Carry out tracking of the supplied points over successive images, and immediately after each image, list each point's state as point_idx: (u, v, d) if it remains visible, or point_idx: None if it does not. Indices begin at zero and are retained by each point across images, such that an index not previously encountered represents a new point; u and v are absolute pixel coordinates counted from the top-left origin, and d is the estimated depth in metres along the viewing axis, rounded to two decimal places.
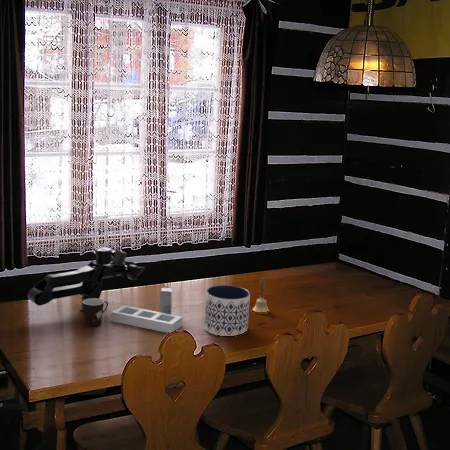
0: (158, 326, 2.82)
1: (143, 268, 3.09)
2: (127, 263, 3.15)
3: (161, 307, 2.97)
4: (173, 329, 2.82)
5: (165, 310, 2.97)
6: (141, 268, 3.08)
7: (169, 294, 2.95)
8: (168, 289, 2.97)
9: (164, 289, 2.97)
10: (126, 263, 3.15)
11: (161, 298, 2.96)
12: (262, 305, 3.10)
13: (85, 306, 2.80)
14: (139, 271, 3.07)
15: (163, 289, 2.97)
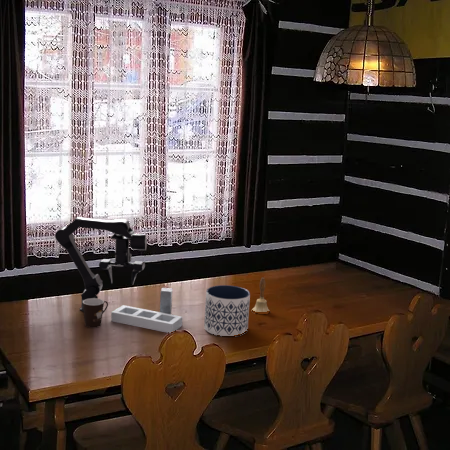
0: (158, 326, 2.82)
1: (133, 282, 2.98)
2: (111, 275, 2.98)
3: (161, 307, 2.97)
4: (173, 329, 2.82)
5: (165, 310, 2.97)
6: (134, 278, 2.98)
7: (169, 294, 2.95)
8: (168, 289, 2.97)
9: (164, 289, 2.97)
10: (111, 274, 2.98)
11: (161, 298, 2.96)
12: (262, 305, 3.10)
13: (85, 306, 2.80)
14: (135, 276, 2.96)
15: (163, 289, 2.97)
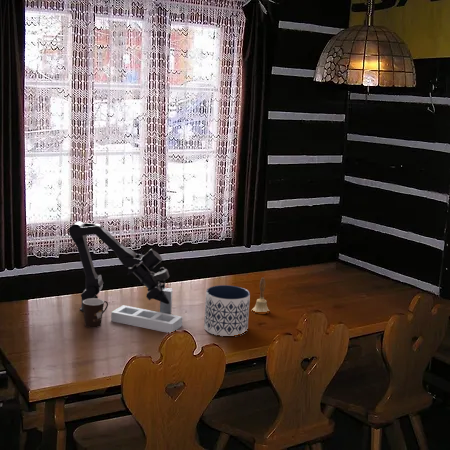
0: (158, 326, 2.82)
1: (166, 302, 2.95)
2: None
3: (161, 307, 2.97)
4: (173, 329, 2.82)
5: (165, 310, 2.97)
6: (164, 299, 2.95)
7: (169, 294, 2.95)
8: (168, 289, 2.97)
9: (164, 289, 2.97)
10: None
11: None
12: (262, 305, 3.10)
13: (85, 306, 2.80)
14: (161, 298, 2.94)
15: (163, 289, 2.97)
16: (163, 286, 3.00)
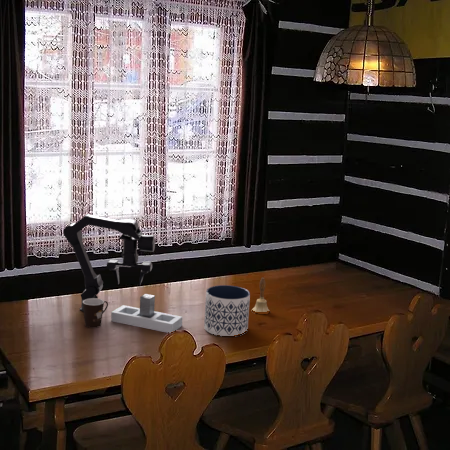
0: (158, 326, 2.82)
1: (140, 283, 2.97)
2: (118, 276, 2.97)
3: (141, 314, 2.87)
4: (173, 329, 2.82)
5: None
6: None
7: (148, 301, 2.85)
8: (149, 296, 2.87)
9: (145, 296, 2.87)
10: (118, 275, 2.97)
11: (140, 304, 2.87)
12: (262, 305, 3.10)
13: (85, 306, 2.80)
14: (142, 277, 2.96)
15: (144, 295, 2.88)
16: (118, 268, 2.98)
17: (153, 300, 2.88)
